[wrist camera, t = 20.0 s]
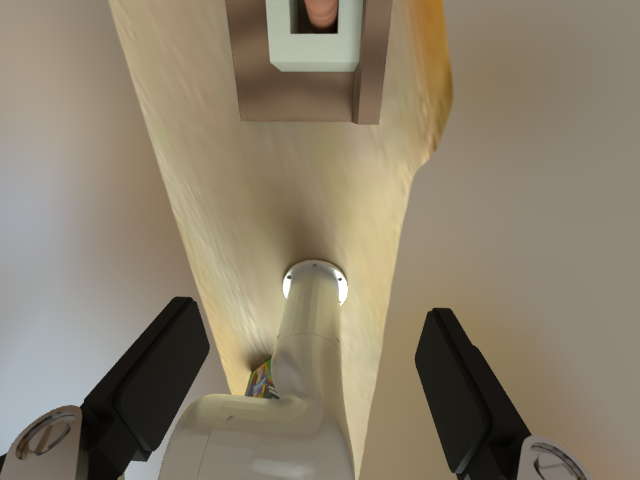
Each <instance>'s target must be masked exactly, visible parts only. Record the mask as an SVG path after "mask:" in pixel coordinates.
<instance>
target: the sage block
mask: <svg viewBox="0 0 640 480" xmlns="http://www.w3.org/2000/svg"><path fill="white" fill-rule="evenodd" d="M362 11H363V0H339V12H338V34H298V7H297V0H266V13H267V27H268V41H269V55H270V62H271V63H272V64H273V65H274V66H275V67H277V68H278V69H279V70H280V71H282V72H355V70H356V67H357V65H358V63H359V55H360V40H361V25H362Z"/></svg>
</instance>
